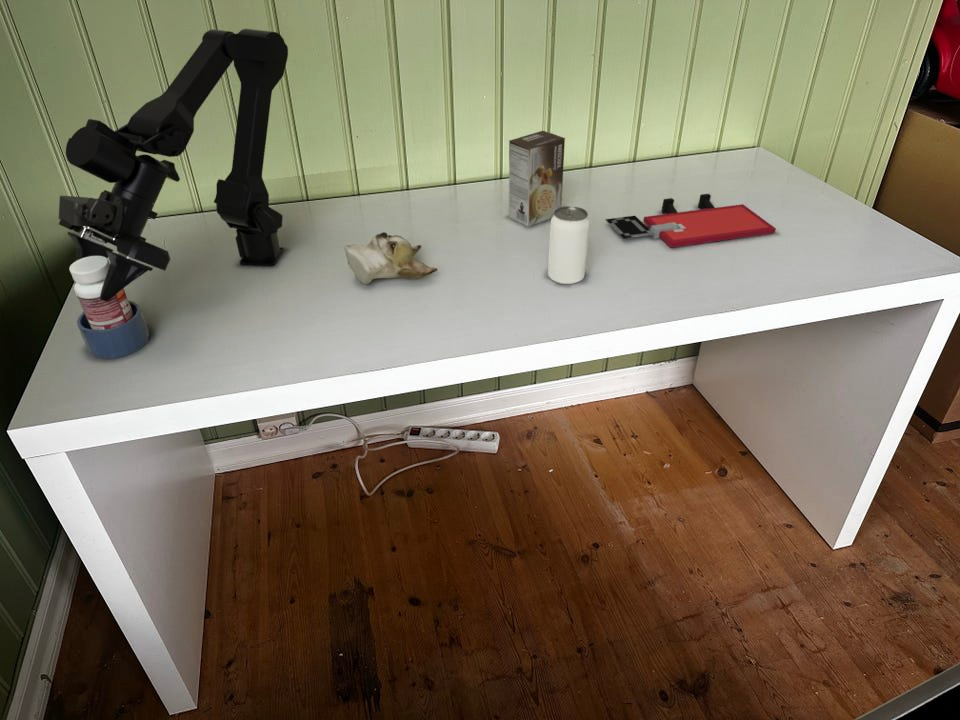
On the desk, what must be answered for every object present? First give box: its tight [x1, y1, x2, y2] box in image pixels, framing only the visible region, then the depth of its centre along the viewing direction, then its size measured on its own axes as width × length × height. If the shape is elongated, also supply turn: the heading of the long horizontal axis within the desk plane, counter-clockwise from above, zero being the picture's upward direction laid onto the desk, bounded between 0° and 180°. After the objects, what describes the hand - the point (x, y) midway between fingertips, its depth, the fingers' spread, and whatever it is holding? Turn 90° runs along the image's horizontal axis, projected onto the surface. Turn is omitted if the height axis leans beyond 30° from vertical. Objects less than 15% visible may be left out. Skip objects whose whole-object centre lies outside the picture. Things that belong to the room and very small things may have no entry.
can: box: [547, 205, 590, 286], centre depth 117 cm, size 6×6×12 cm
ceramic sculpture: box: [344, 231, 438, 285], centre depth 119 cm, size 11×9×15 cm
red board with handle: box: [604, 193, 777, 248], centre depth 135 cm, size 30×3×15 cm
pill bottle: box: [69, 256, 134, 330], centre depth 101 cm, size 6×6×11 cm
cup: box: [76, 299, 150, 360], centre depth 104 cm, size 9×9×5 cm
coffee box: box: [508, 130, 566, 228], centre depth 135 cm, size 9×6×16 cm
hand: (90, 293), depth 99 cm, fingers closed on pill bottle, 6 cm apart
